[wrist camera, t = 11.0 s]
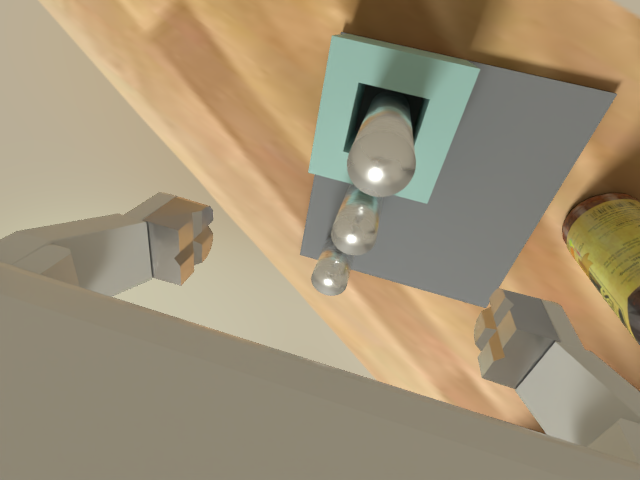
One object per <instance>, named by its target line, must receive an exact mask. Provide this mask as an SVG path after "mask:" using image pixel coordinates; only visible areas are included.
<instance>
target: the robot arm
mask: <svg viewBox="0 0 640 480" xmlns="http://www.w3.org/2000/svg"><path fill="white" fill-rule="evenodd" d="M212 221H213V210H212V208H211V207H210V206H207V205H204V204H201V203H198V202H194V201H191V200H188V199H184V198H181V197H178V196H174V195H171V194H167V193H162V192H159V193H157V194H156V195H154V196H152V197H151V198H149V199H148V200H146V201H145V202H143V203H142V204H140V205H138V206H137V207H135V208H134V209H132V210H131V211H129V212H127V213H126V214H124V215H121V214H113V215H108V216H102V217H96V218H90V219H84V220H78V221H73V222H67V223H62V224H55V225H50V226H44V227H38V228H32V229H27V230H22V231H16V232H14V233H12V234H10V235H8V236H6V237H4V238H2V239H0V480H640V392H639V391H638V390H637V389H636V388H635V387H633V386H632V385H631V384H630V383H629V382H627V381H626V380H625V379H624V378H623V377H621V376H620V375H619V374H618V373H617V372H615V371H614V370H613V369H612V368H611V367H609V366H608V365H607V364H606V363H605V362H603V361H602V360H601V359H600V358H599V357H597V356H596V355H595V354H594V353H593V352H591V351H588V350H585V349H584V347H583V345H582V343H581V342H580V340H579V338H578V336H577V334H576V332H575V330H574V328H573V327H572V325H571V323H570V321H569V319H568V317H567V315H566V314H565V312H564V310H563V308H562V306H560V305H559V304H558V303H555V302H551V301H547V300H543V299H539V298H534V297H530V296H527V295H523V294H519V293H515V292H511V291H507V290H503V289H499V288H497V289H496V290H495V291H494V292H493V293H492V295H491V297H490V298H489V301H490V305H491V307H489V308H487V309H485V310H483V311H481V313H480V315H479V317H478V319H477V321H476V325H475V329H474V339H475V344H476V346H477V347H478V348H479V349H480V350H481V351H482V352H481V353H480V355H479V356H478V361H479V365H480V370H481V375H482V378H484V379H487V380H490V381H493V382H495V383H498V384H501V385H504V386H507V387H510V388H513V389H516V390H515V391H516V393H517V394H518V395H519V397H520V398H521V399H522V401H523V402H524V404H525V405H526V406H527V408H528V409H529V411H530V412H531V413H532V415H533V416H534V418H535V419H536V420H537V422H538V423H539V425H540V426H541V427H542V429H543V430H544V431H545V433H546V434H547V435H546V434H543V433H540V432H537V431H534V430H530V429H527V428H524V427H521V426H518V425H515V424H511V423H508V422H505V421H502V420H499V419H496V418H492V417H489V416H486V415H483V414H480V413H477V412H474V411H470V410H467V409H464V408H461V407H458V406H455V405H452V404H448V403H445V402H442V401H439V400H436V399H433V398H429V397H426V396H423V395H420V394H417V393H414V392H411V391H407V390H404V389H401V388H398V387H395V386H392V385H389V384H385V383H382V382H379V381H376V380H373V379H370V378H366V377H363V376H360V375H357V374H354V373H350V372H347V371H344V370H341V369H338V368H335V367H331V366H328V365H325V364H322V363H319V362H316V361H312V360H309V359H306V358H303V357H300V356H297V355H293V354H290V353H287V352H284V351H281V350H277V349H274V348H271V347H268V346H265V345H261V344H259V343H255V342H252V341H249V340H246V339H243V338H240V337H236V336H233V335H230V334H227V333H224V332H221V331H218V330H214V329H211V328H208V327H205V326H202V325H199V324H195V323H192V322H189V321H186V320H183V319H180V318H177V317H173V316H170V315H167V314H164V313H161V312H158V311H154V310H151V309H148V308H145V307H142V306H139V305H135V304H132V303H129V302H126V301H123V300H120V299H116V298H113V297H112V296H114V295H117V294H119V293H121V292H124V291H126V290H128V289H131V288H133V287H135V286H138V285H140V284H142V283H145V282H147V281H149V280H151V279H152V278H156V279H160V280H163V281H167V282H170V283H174V284H177V285H182V284H183V283H184V282H185V281H186V280H187V279H188V277H189V276H190V275H191V274H192V273H193V272H194V265H196V264H199V263H202V262H203V261H204V259H205V258H206V257H207V256H208V254H209V251H210V249H211V246H212V241H213V233H212V231H211V229H210V228H209V226H208V225H209V224H210V223H211V222H212Z"/></svg>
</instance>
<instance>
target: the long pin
mask: <svg viewBox="0 0 640 480" xmlns="http://www.w3.org/2000/svg"><path fill="white" fill-rule="evenodd" d="M415 169H416V157H415V149H414V141H413V132H412V124H411V116H410V108H409V103H408V100H407V98H406V97H405V96H404V95H403V94H402V93H401V92H397V91H393V90H385V91H382V92H380V93H379V94H377V95H376V96H375V97H374V99H373V100H372V102H371V104H370V106H369V109H368V111H367V113H366V115H365V118H364V120H363V122H362V125H361V127H360V129H359V131H358V134H357V136H356V138H355V141H354V143H353V145H352V147H351V150H350V152H349V155H348V159H347V171H348V174H349V177H350V179H351V181H352V182H353V184H354V185H355V186H356V187H357V188H358V189H359V190H360V191H362V192H363V193H365V194H368V195H371V196H375V197H386V196H391V195H394V194H396V193H398V192H400V191H401V190H403V189H404V188H405V187H406V186H407V185H408V184H409V182H410V181H411V179H412V178H413V175H414V173H415Z"/></svg>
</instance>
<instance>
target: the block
mask: <svg viewBox="0 0 640 480" xmlns="http://www.w3.org/2000/svg"><path fill="white" fill-rule="evenodd" d="M479 71H480V68H478V67H477V66H475V65H474V64H472V63H470V62H469V61H467V60H463V59H458V58H454V57H450V56H445V55H441V54H436V53H432V52H427V51H423V50H418V49H414V48H409V47H405V46H400V45H396V44H392V43H387V42H383V41H378V40H374V39H369V38H365V37H360V36H356V35H351V34H341V35H333V36H332V39H331V45H330V50H329V56H328V62H327V68H326V74H325V79H324V85H323V91H322V97H321V102H320V108H319V114H318V120H317V125H316V131H315V137H314V143H313V148H312V154H311V160H310V166H309V172H308V173H312V174H316V175H320V176H323V177H327V178H331V179H335V180H339V181H342V182H346V183H350V184H353V182H352V181H351V179H350V177H349V174H348V171H347V159H348V155H349V152H350V150H351V147H352V145H353V143H354V141H355V138H356V136H357V134H358V131H355V128H356V124H357V119H358V115H359V111H360V107H361V102H362V98H363V94H364V90H365V85H366V84H367V85H371V86H376V87H380V88H384V89H388V90H393V91H397V92H401V93H405V94H410V95H414V96H418V97H422V98H423V99H422V103H421V106H420V109H419V112H418V115H417V118H416V121H415V124H414V127H413V130H412V132H413V141H414V149H415V157H416V169H415V173H414V175H413V178H412V179H411V181H410V182H409V184H408V185H407V186H406V187H405V188H404V189H403V190H401V191H400V192H398V193H396V194H394V195H395V196H399V197H403V198H407V199H411V200H414V201H418V202H422V203H426V204H427V203H428V201H429V198H430V196H431V193H432V190H433V188H434V185H435V183H436V180H437V178H438V175H439V173H440V170H441V168H442V165H443V163H444V160H445V158H446V155H447V152H448V150H449V147H450V145H451V142H452V140H453V137H454V135H455V132H456V130H457V127H458V125H459V122H460V120H461V117H462V115H463V112H464V109H465V107H466V104H467V102H468V99H469V97H470V94H471V92H472V89H473V87H474V84H475V82H476V79H477V77H478V74H479Z"/></svg>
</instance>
